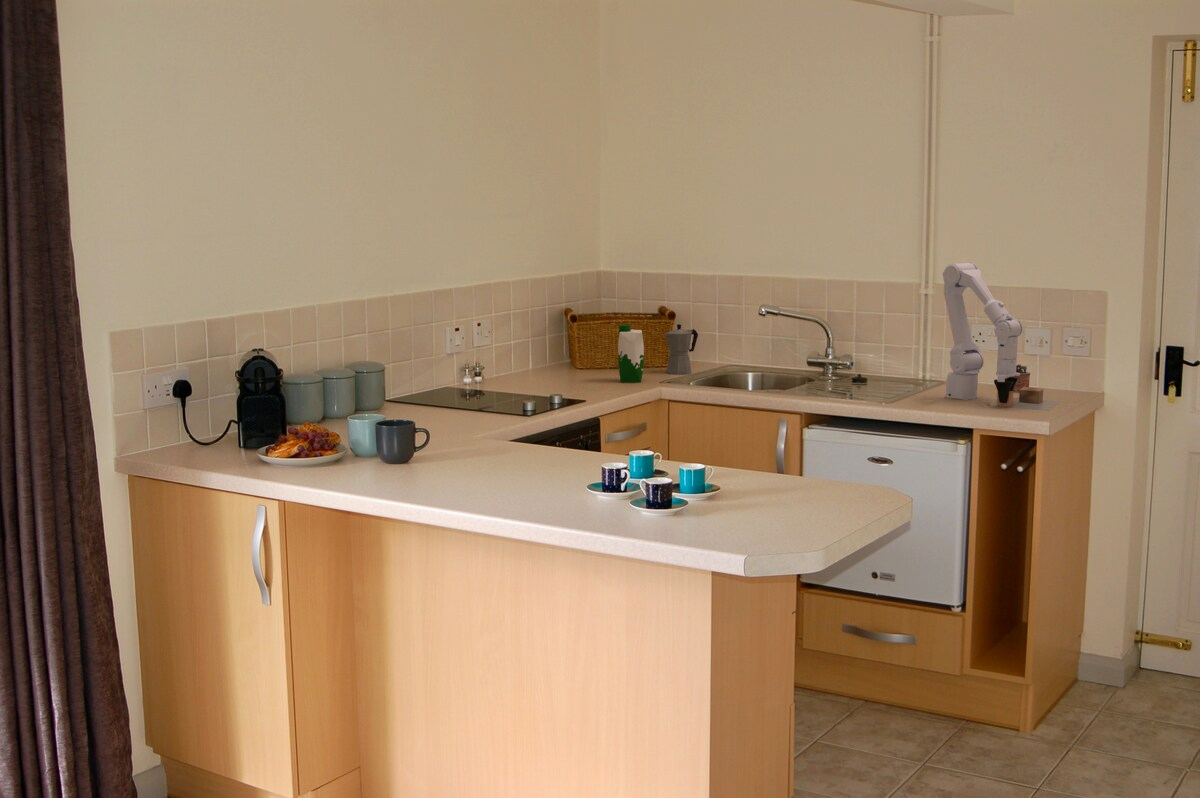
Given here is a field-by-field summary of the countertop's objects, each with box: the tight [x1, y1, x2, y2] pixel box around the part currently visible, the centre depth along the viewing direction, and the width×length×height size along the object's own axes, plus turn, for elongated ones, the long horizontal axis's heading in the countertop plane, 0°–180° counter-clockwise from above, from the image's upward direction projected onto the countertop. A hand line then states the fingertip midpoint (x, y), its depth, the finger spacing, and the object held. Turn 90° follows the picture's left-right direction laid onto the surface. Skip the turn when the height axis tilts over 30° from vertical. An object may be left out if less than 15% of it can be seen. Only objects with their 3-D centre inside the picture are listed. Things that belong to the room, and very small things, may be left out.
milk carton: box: [617, 324, 645, 384], centre depth 453 cm, size 9×9×20 cm
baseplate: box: [988, 396, 1061, 411], centre depth 401 cm, size 18×18×1 cm
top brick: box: [996, 391, 1014, 406], centre depth 399 cm, size 4×4×4 cm
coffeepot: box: [664, 323, 699, 376], centre depth 472 cm, size 15×9×18 cm, turn 125°
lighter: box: [1012, 363, 1031, 393], centre depth 422 cm, size 8×3×10 cm, turn 65°
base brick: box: [1018, 386, 1044, 404], centre depth 403 cm, size 6×6×4 cm
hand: (1004, 401), depth 399 cm, fingers closed on top brick, 4 cm apart
